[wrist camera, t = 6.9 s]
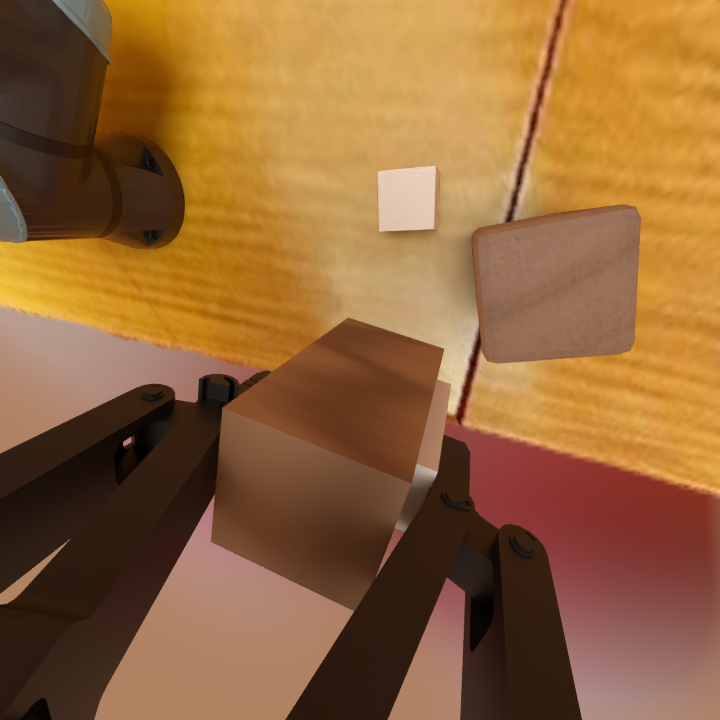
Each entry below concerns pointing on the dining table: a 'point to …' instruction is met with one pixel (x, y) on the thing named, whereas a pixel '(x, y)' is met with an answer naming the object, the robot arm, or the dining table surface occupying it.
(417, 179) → the pale pink cube
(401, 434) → the walnut block
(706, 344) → the dining table surface
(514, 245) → the block
